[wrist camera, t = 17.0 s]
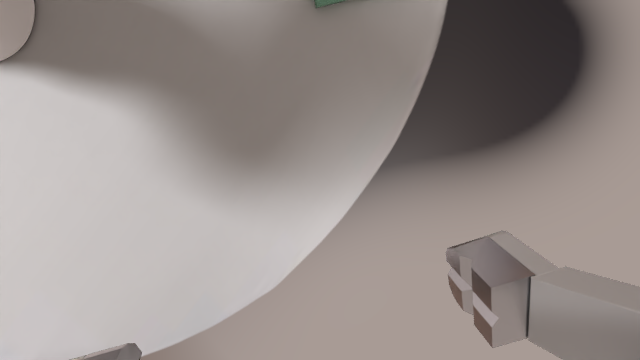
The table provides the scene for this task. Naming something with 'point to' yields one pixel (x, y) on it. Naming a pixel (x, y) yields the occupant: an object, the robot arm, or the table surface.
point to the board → (326, 2)
